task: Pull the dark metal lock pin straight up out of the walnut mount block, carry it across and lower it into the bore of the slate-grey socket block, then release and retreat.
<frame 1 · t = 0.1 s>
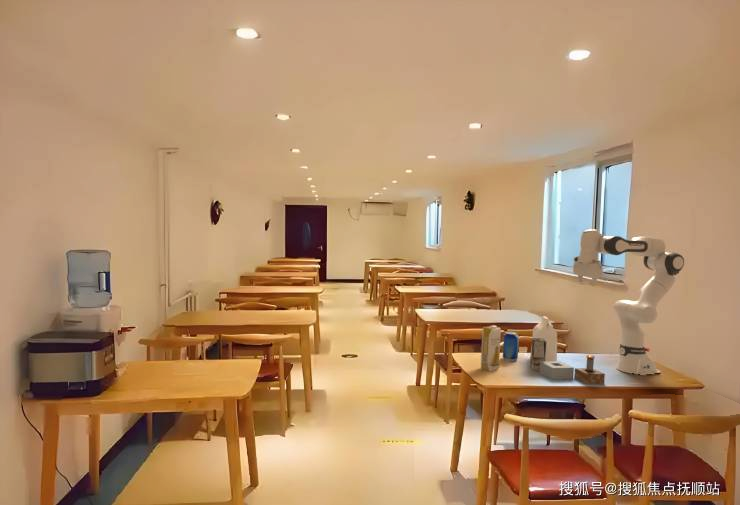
hand: (586, 284, 255), 48 cm above the table, fingers open, 8 cm apart
coffee box: (537, 368, 259), on the table
milk: (543, 361, 275), on the table
socket: (556, 375, 247), on the table
mount: (589, 380, 241), on the table
pin: (589, 368, 241), in the mount
beer can: (510, 360, 276), on the table
juice carton: (489, 369, 255), on the table
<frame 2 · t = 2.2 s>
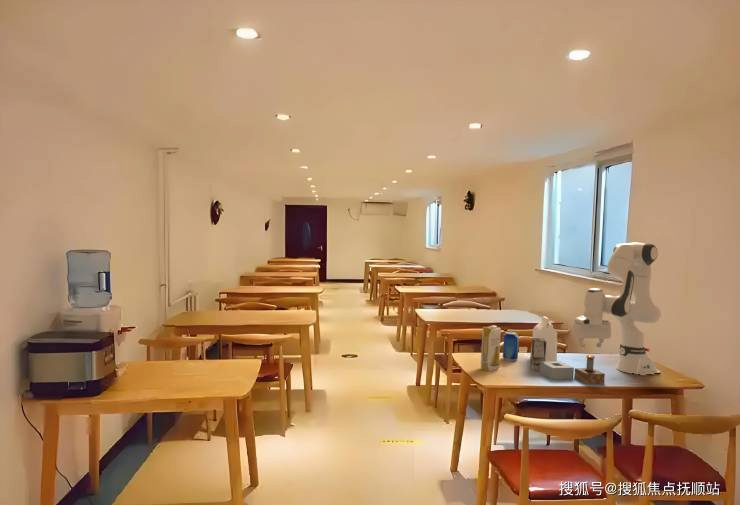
hand: (590, 346, 240), 18 cm above the table, fingers open, 8 cm apart
nothing on the table moved.
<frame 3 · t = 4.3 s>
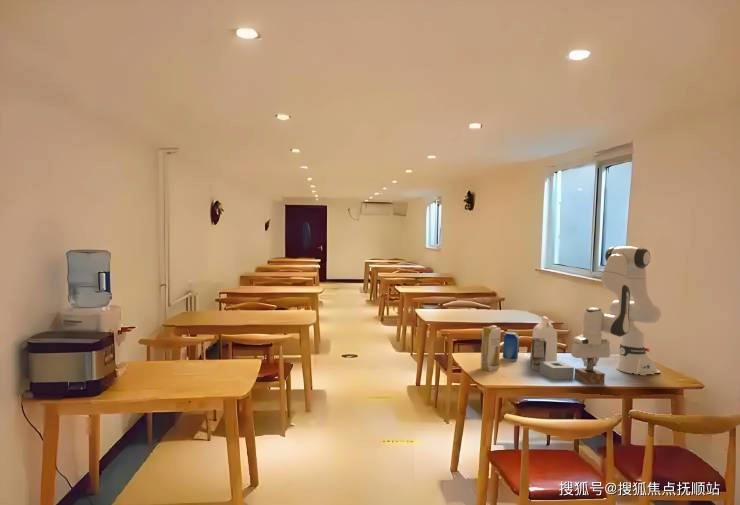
hand: (590, 365, 241), 8 cm above the table, fingers closed on pin, 3 cm apart
pin: (589, 368, 241), in the mount, touching gripper
everything else where it was.
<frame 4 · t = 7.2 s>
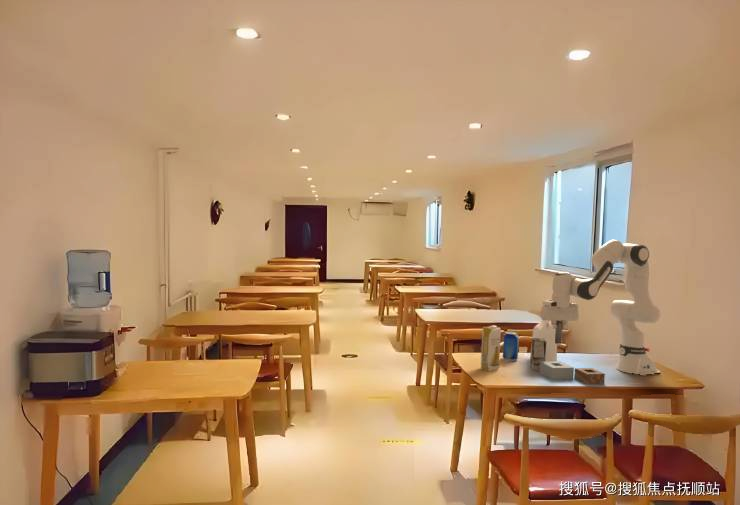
hand: (558, 328, 246), 25 cm above the table, fingers closed on pin, 3 cm apart
pin: (558, 331, 246), point 24 cm above the table, touching gripper
everything else where it was.
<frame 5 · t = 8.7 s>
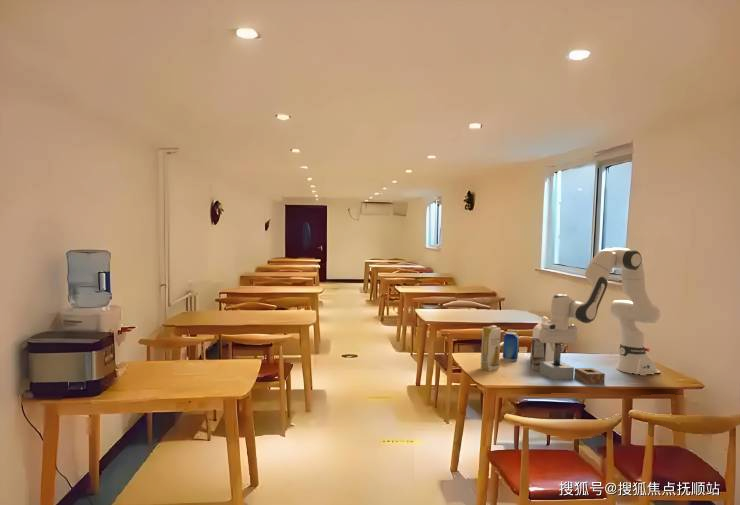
hand: (557, 350, 247), 13 cm above the table, fingers closed on pin, 3 cm apart
pin: (557, 353, 247), point 12 cm above the table, touching gripper
everything else where it was.
when the fingers open (9 cm above the table, at t = 10.2 s): pin drops 1 cm, resting in socket.
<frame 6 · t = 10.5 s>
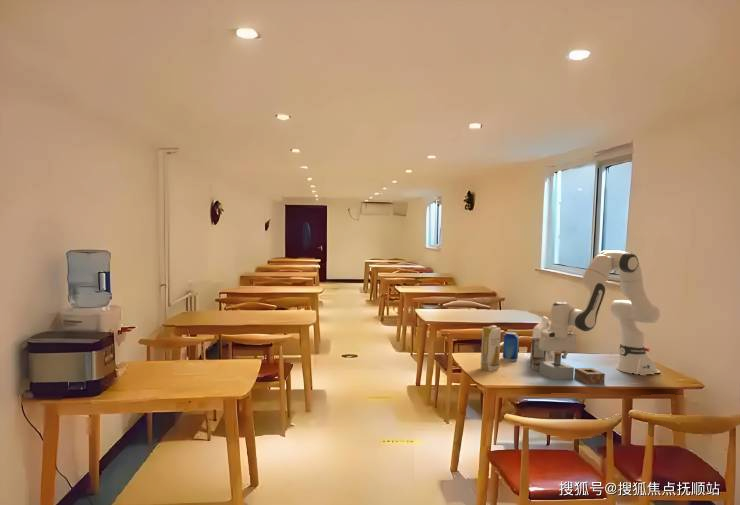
hand: (557, 358, 247), 9 cm above the table, fingers open, 6 cm apart
pin: (557, 363, 247), in the socket
everything else where it was.
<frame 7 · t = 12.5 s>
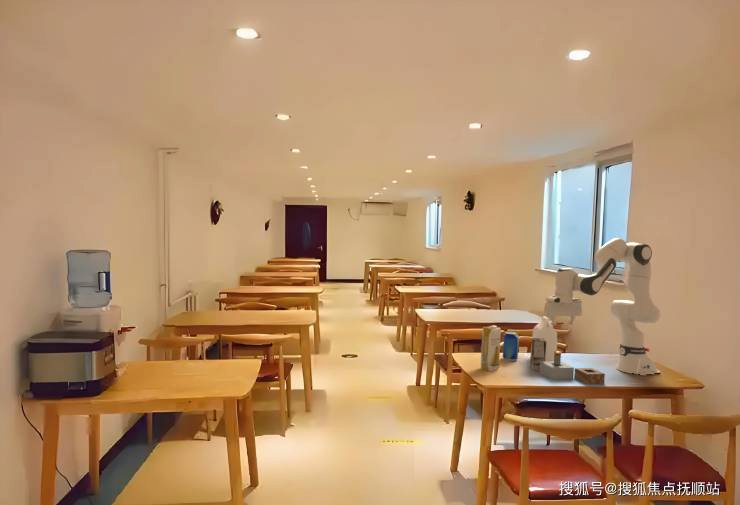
hand: (562, 324, 247), 27 cm above the table, fingers open, 8 cm apart
nothing on the table moved.
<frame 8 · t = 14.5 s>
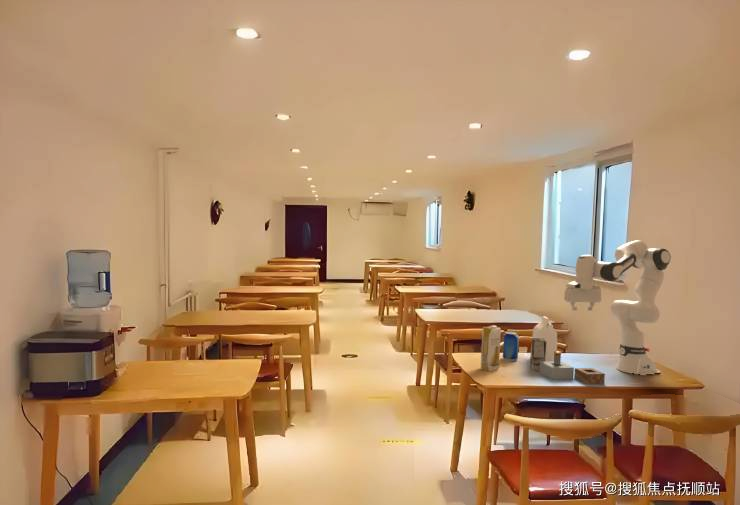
hand: (582, 310, 253), 34 cm above the table, fingers open, 8 cm apart
nothing on the table moved.
at the end: pin 0.1 cm off-centre on the socket, point 6.4 cm above the socket's base; pin tilted 0°; the gripper is holding nothing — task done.
